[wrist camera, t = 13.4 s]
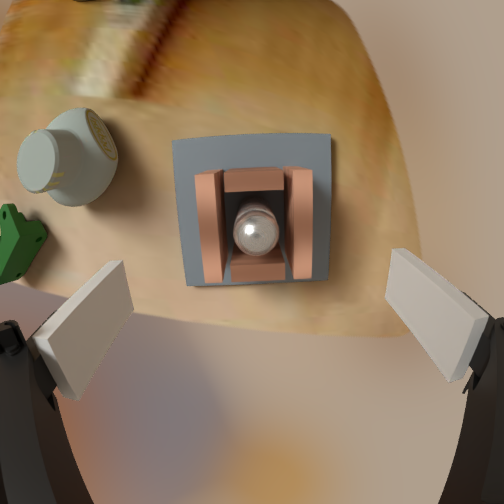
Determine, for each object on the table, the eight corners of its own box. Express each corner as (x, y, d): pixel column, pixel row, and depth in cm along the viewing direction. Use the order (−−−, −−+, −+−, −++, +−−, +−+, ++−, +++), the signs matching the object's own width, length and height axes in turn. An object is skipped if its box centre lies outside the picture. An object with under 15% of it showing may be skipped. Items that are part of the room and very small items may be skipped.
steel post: (236, 196, 29) (230, 216, 20) (271, 194, 29) (281, 214, 20) (238, 229, 30) (233, 263, 21) (272, 228, 30) (281, 261, 21)
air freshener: (135, 175, 29) (89, 186, 19) (84, 212, 30) (34, 235, 21) (96, 99, 26) (44, 86, 16) (50, 140, 27) (-4, 144, 17)
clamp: (45, 207, 34) (13, 190, 25) (60, 238, 34) (28, 226, 25) (-1, 255, 32) (-35, 248, 23) (13, 286, 32) (-22, 285, 23)
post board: (174, 141, 28) (172, 140, 27) (327, 134, 28) (330, 134, 26) (188, 281, 33) (186, 286, 32) (325, 275, 33) (327, 280, 32)
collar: (207, 170, 28) (194, 175, 21) (297, 166, 28) (312, 169, 21) (214, 254, 31) (205, 283, 24) (298, 251, 31) (311, 278, 24)
